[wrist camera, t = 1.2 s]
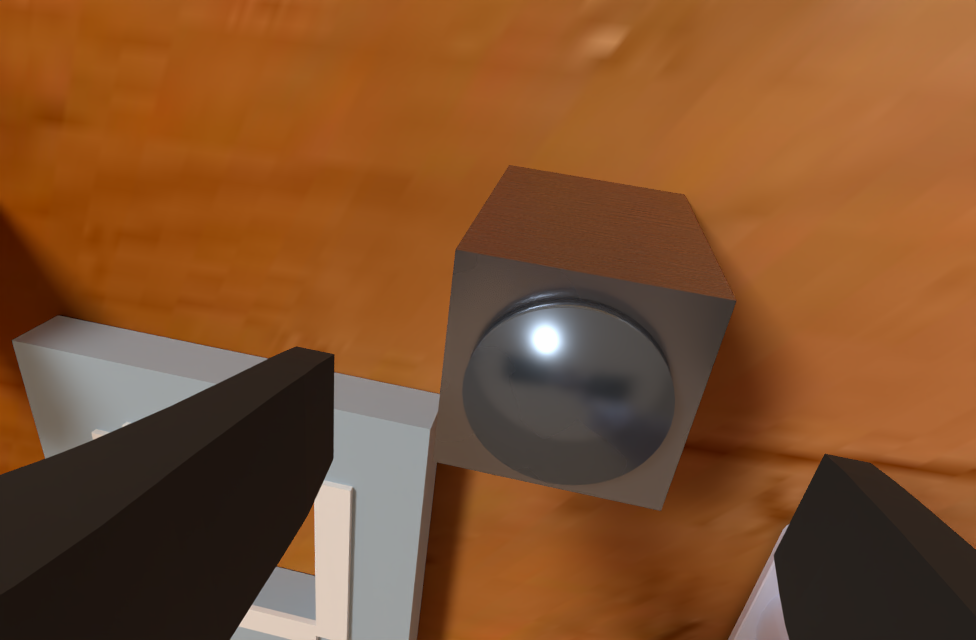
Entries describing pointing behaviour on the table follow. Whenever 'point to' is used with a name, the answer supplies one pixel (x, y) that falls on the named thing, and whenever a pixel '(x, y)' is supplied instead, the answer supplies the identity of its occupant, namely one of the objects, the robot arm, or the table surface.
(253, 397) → the robot arm
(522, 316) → the lens block
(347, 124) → the table surface
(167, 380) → the mount plate
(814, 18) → the table surface
